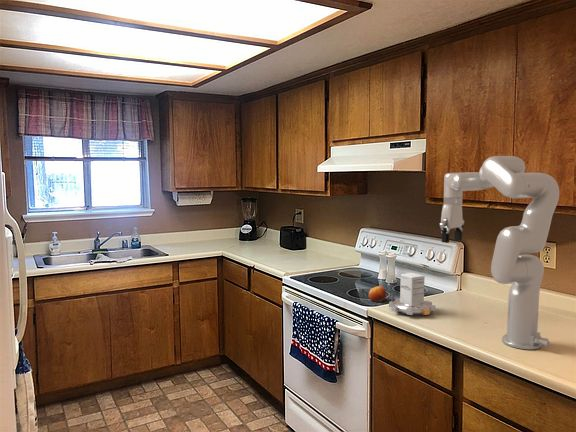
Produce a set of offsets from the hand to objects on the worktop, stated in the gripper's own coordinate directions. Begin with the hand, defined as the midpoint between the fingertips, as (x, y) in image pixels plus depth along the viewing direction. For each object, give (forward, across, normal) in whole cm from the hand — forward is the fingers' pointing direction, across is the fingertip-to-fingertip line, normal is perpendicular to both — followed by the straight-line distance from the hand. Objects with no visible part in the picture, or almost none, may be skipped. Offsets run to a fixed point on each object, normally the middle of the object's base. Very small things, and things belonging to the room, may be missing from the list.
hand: (451, 241), depth 200 cm
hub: (+30, +15, -9) cm, 35 cm away
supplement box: (+27, +15, -9) cm, 32 cm away
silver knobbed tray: (+29, +15, -9) cm, 34 cm away
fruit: (+31, +13, -30) cm, 45 cm away
